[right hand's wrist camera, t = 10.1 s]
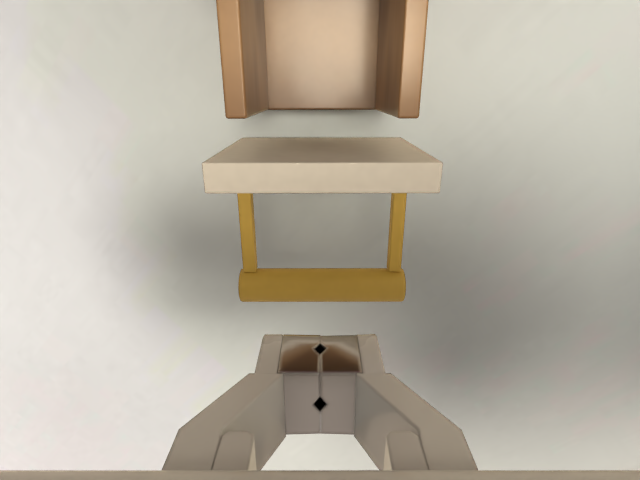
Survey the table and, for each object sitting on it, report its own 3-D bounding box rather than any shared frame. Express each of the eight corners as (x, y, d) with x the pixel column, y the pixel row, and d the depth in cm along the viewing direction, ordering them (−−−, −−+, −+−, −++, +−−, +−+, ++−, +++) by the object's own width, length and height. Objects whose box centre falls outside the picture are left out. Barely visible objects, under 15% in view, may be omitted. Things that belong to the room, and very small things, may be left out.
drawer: (393, 255, 25) (425, 328, 18) (250, 255, 25) (219, 328, 18) (425, -208, 17) (508, -445, 10) (217, -208, 17) (135, -443, 10)
